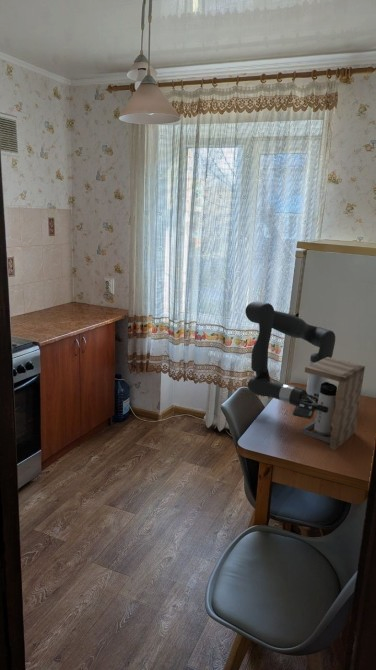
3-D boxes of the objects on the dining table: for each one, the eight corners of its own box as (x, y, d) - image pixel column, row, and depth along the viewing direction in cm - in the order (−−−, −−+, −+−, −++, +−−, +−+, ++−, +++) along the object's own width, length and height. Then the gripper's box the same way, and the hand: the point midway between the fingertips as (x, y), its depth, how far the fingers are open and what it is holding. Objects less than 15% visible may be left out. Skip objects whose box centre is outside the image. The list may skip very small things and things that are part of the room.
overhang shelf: (318, 420, 196) (327, 356, 189) (354, 432, 186) (365, 366, 179) (296, 435, 181) (305, 367, 174) (334, 450, 171) (345, 377, 164)
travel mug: (326, 428, 188) (334, 382, 183) (332, 435, 182) (339, 388, 176) (311, 427, 188) (318, 381, 182) (316, 434, 181) (323, 387, 176)
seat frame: (314, 423, 193) (314, 420, 192) (342, 433, 185) (342, 429, 185) (301, 432, 184) (301, 429, 183) (329, 443, 176) (330, 439, 176)
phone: (315, 404, 211) (310, 416, 198) (315, 407, 211) (310, 419, 198) (298, 401, 214) (292, 412, 201) (298, 403, 214) (291, 415, 201)
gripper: (285, 391, 184) (324, 404, 174) (302, 382, 195) (340, 394, 185) (283, 408, 186) (322, 422, 176) (299, 399, 197) (337, 411, 187)
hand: (331, 407), depth 180 cm, fingers closed on travel mug, 6 cm apart
